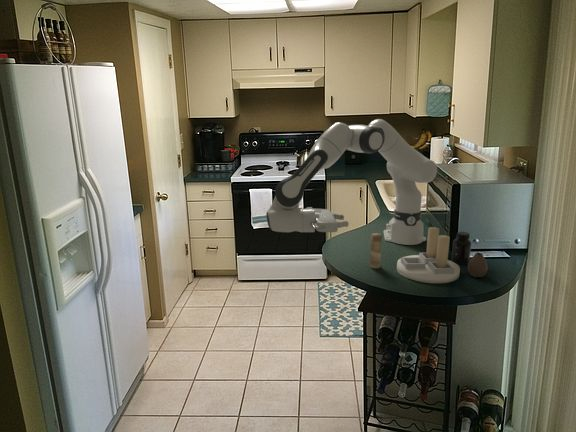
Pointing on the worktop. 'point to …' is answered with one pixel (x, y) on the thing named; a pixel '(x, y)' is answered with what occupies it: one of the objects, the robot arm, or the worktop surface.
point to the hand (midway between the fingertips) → (345, 220)
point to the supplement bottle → (461, 248)
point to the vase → (477, 265)
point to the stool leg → (375, 250)
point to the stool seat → (430, 261)
